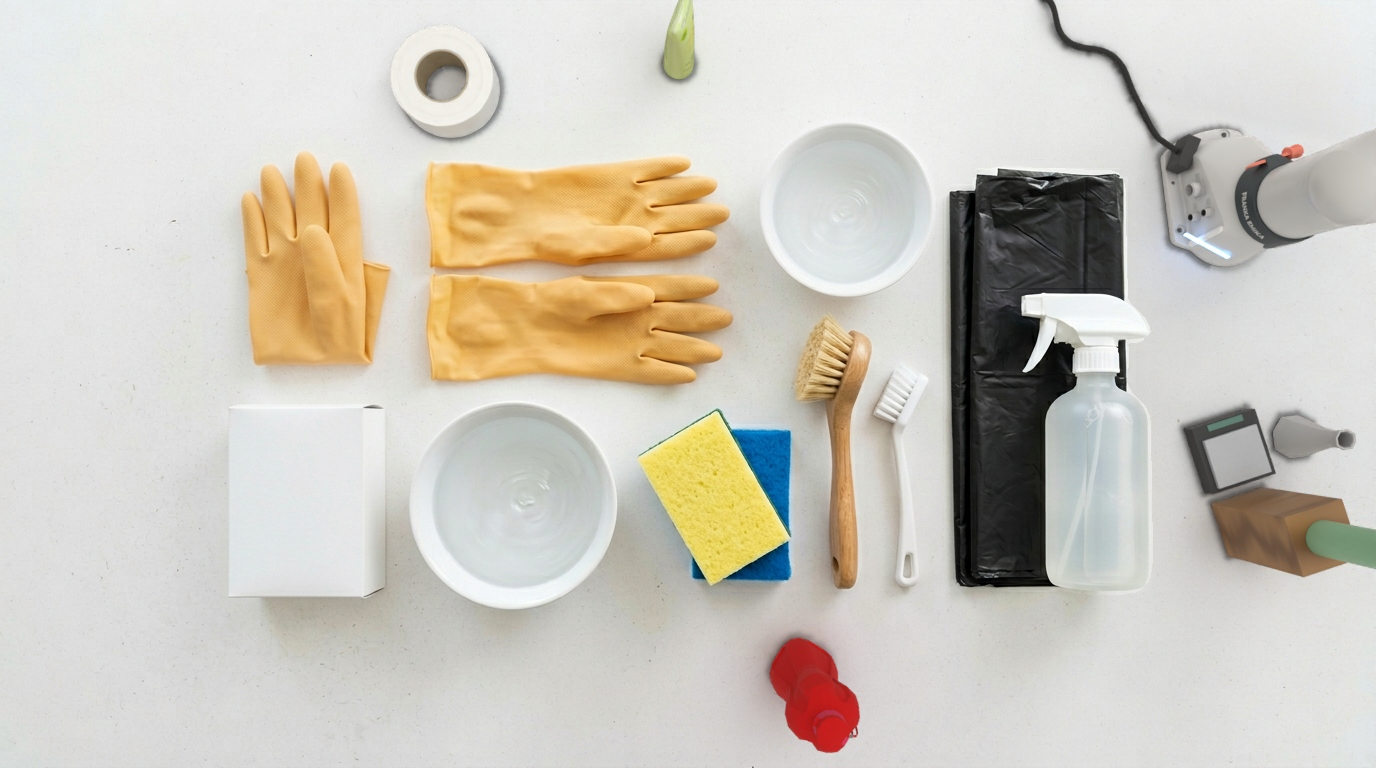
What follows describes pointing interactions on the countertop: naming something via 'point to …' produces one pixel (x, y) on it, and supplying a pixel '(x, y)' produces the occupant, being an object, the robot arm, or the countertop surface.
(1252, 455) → the scale
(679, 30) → the tube
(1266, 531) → the brown wooden block
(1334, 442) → the flask
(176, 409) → the countertop surface
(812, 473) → the countertop surface
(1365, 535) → the green bottle
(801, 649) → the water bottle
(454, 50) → the tape roll
